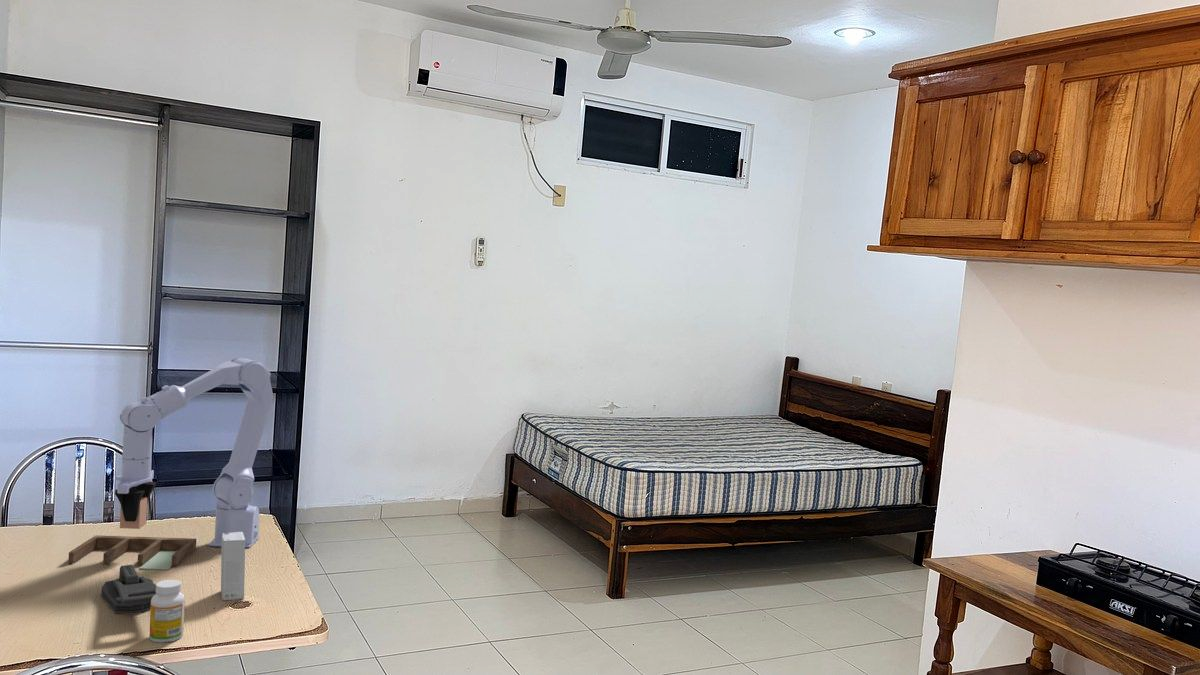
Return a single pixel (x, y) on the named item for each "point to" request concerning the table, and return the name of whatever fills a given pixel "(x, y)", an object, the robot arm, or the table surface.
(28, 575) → the table surface
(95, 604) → the table surface
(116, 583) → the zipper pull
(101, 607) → the table surface
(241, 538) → the skincare box
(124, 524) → the terracotta block
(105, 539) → the notched rack
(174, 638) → the supplement bottle
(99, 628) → the table surface
